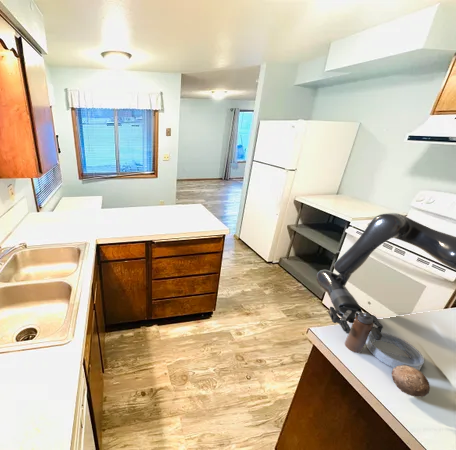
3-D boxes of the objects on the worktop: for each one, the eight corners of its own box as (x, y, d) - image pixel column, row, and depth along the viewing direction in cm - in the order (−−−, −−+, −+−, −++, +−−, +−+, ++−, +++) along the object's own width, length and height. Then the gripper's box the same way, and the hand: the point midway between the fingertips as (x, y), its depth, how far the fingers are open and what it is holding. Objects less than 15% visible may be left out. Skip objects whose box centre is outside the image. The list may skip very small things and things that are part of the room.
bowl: (403, 345, 83) (407, 337, 82) (430, 379, 72) (435, 371, 70) (358, 335, 87) (361, 327, 86) (376, 366, 75) (380, 358, 74)
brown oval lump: (393, 357, 74) (408, 358, 68) (422, 380, 70) (441, 383, 65) (379, 377, 72) (394, 379, 67) (408, 402, 69) (426, 407, 63)
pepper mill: (357, 344, 83) (372, 310, 78) (363, 355, 79) (379, 320, 74) (342, 340, 84) (355, 307, 79) (347, 351, 80) (362, 316, 75)
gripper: (325, 291, 92) (341, 320, 78) (370, 299, 88) (395, 331, 73) (320, 306, 95) (334, 337, 80) (363, 315, 91) (386, 349, 76)
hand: (363, 334), depth 77 cm, fingers open, 7 cm apart
